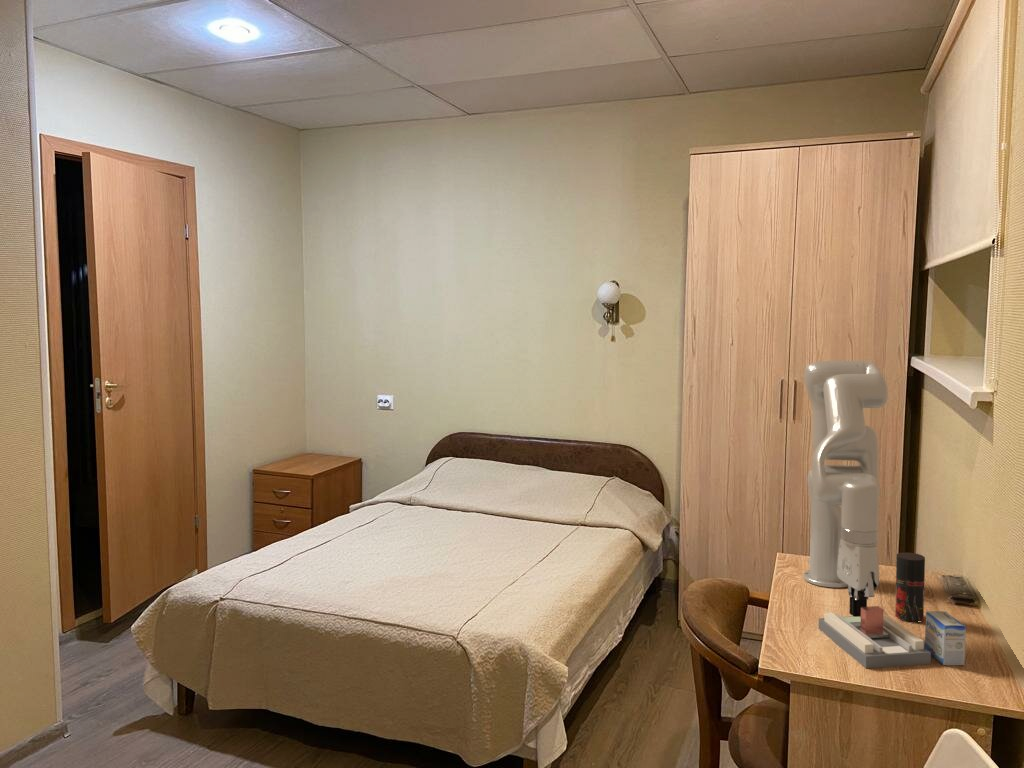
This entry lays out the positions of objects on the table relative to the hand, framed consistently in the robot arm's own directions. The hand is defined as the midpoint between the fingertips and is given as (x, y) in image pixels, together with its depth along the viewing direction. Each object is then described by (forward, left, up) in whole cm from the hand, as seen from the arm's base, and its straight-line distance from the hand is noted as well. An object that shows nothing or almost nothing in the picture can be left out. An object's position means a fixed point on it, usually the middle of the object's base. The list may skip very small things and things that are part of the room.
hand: (858, 614), depth 173 cm
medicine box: (+13, +12, -5) cm, 18 cm away
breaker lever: (+6, 0, -2) cm, 6 cm away
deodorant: (-7, +17, -5) cm, 19 cm away
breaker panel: (+6, 0, -5) cm, 7 cm away
